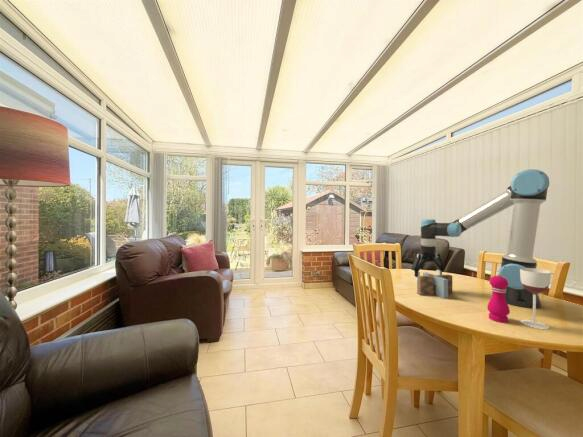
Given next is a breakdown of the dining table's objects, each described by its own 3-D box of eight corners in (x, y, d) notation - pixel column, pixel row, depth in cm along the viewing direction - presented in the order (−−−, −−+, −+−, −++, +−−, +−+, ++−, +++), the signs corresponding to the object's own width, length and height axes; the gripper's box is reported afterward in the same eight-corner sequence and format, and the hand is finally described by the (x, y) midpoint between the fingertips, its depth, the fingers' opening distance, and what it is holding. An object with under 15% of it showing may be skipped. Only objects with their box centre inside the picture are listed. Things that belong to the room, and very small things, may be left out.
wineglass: (522, 326, 96) (523, 271, 95) (516, 317, 104) (517, 266, 103) (553, 331, 91) (554, 274, 91) (545, 322, 99) (546, 269, 99)
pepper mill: (500, 316, 105) (501, 270, 105) (514, 323, 98) (515, 275, 98) (483, 315, 106) (483, 270, 105) (495, 323, 99) (495, 274, 98)
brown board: (448, 291, 138) (448, 274, 138) (452, 293, 135) (452, 275, 135) (417, 293, 135) (417, 276, 135) (420, 295, 132) (420, 277, 132)
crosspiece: (447, 298, 128) (448, 279, 127) (443, 298, 127) (443, 279, 127) (426, 289, 143) (426, 272, 143) (422, 289, 143) (422, 272, 143)
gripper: (442, 244, 146) (442, 279, 146) (404, 245, 142) (404, 281, 142) (452, 245, 138) (452, 282, 138) (412, 247, 135) (413, 284, 135)
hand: (428, 281), depth 140 cm, fingers open, 13 cm apart
